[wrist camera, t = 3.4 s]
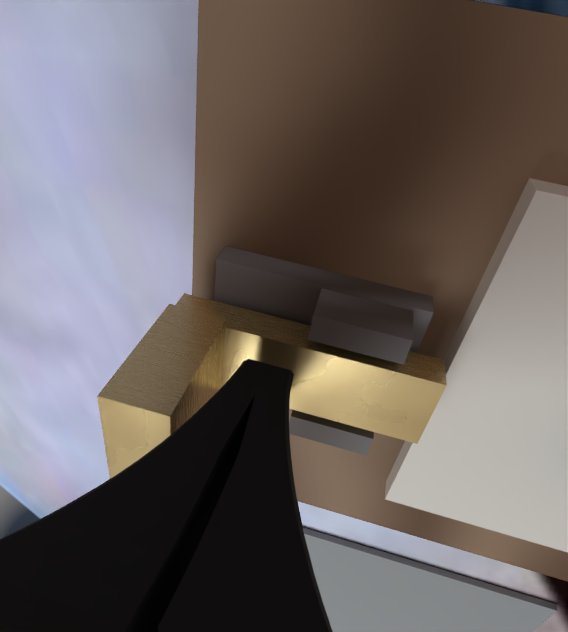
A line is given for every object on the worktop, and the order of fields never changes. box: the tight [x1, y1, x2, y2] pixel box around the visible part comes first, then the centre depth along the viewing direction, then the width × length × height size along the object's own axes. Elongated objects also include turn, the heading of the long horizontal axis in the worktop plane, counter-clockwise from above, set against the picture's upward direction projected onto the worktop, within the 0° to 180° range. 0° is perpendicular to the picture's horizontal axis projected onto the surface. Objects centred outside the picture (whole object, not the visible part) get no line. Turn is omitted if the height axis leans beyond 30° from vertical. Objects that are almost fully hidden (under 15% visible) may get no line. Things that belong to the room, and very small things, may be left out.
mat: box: [303, 528, 557, 632], centre depth 27 cm, size 14×14×1 cm
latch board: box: [192, 0, 568, 581], centre depth 13 cm, size 20×18×3 cm
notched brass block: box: [97, 293, 447, 479], centre depth 12 cm, size 8×3×4 cm, turn 82°
